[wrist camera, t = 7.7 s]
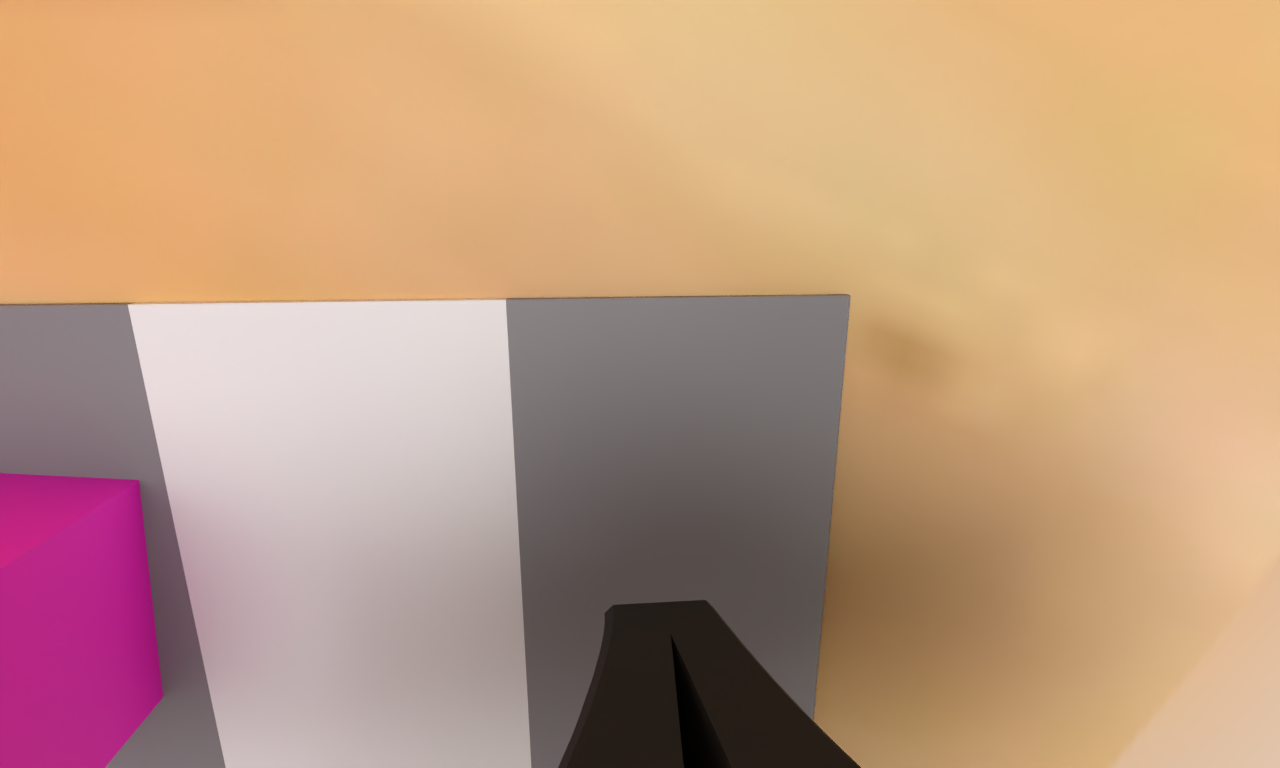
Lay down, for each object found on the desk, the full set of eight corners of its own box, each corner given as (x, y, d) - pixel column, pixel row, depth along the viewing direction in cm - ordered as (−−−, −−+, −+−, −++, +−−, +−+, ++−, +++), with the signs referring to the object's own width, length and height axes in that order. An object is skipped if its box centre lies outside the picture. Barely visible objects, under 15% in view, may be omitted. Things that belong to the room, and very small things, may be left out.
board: (797, 757, 13) (807, 783, 12) (-725, 869, 11) (-799, 908, 10) (835, 290, 10) (850, 295, 10) (-1133, 312, 8) (-1265, 321, 8)
